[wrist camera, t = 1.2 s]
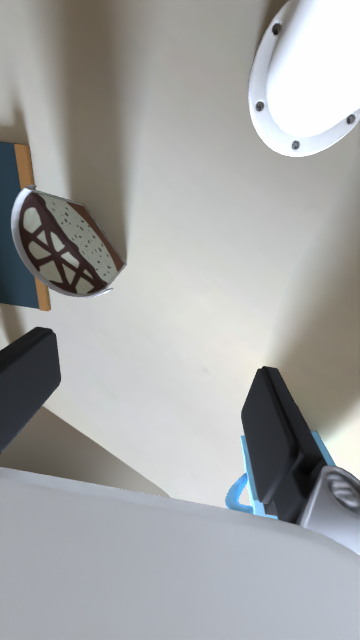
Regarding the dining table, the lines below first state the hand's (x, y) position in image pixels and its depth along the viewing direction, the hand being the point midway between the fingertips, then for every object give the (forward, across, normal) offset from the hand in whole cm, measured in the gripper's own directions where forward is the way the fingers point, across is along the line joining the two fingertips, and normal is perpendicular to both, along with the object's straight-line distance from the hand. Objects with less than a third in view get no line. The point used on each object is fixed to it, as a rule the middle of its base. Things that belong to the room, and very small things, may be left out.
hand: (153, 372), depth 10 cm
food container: (+24, +14, 0) cm, 28 cm away
